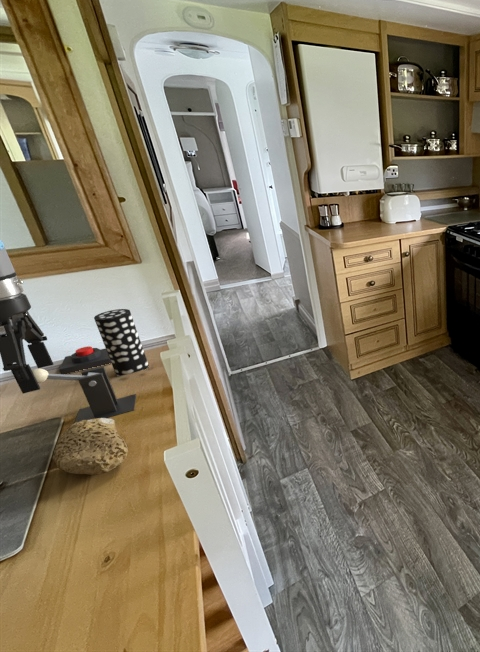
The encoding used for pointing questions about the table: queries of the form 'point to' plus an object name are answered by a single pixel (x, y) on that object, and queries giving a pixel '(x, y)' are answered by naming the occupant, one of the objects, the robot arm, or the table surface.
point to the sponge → (90, 447)
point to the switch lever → (55, 376)
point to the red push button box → (84, 361)
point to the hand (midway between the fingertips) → (39, 377)
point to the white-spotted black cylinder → (121, 341)
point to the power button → (84, 351)
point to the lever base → (102, 397)
